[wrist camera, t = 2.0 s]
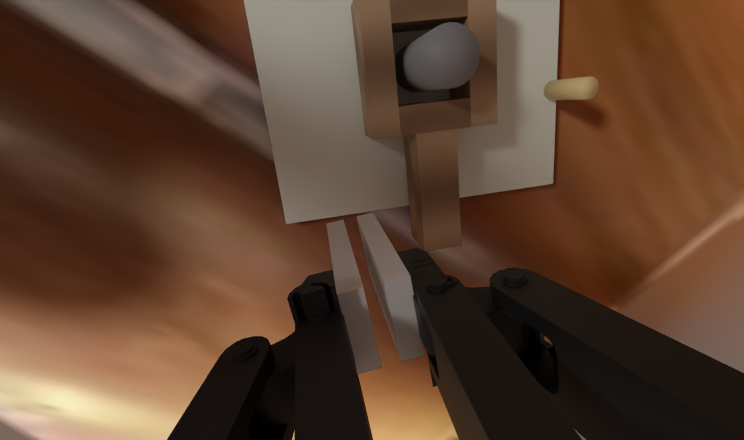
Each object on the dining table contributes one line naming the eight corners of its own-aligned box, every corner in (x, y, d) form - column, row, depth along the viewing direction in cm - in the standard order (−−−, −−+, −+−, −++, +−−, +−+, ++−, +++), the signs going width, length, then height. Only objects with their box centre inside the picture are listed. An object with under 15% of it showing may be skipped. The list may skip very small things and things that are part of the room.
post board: (286, 219, 33) (279, 260, 24) (230, -84, 26) (192, -174, 18) (549, 180, 36) (624, 204, 27) (559, -102, 29) (662, -188, 21)
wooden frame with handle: (350, 6, 28) (357, -10, 24) (471, -5, 29) (496, -21, 25) (377, 240, 33) (385, 257, 29) (477, 224, 34) (498, 239, 30)
